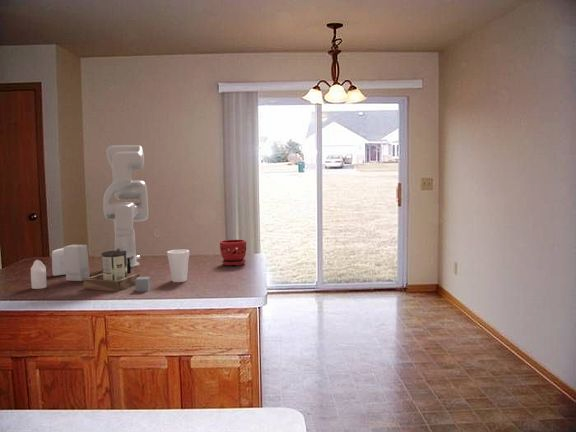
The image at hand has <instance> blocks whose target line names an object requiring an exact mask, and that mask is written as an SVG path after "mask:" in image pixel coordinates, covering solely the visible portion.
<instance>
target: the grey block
mask: <svg viewBox="0 0 576 432" xmlns="http://www.w3.org/2000/svg"><path fill="white" fill-rule="evenodd" d="M135 281H136V285H135V291H136V292H149V291H150V290H151V288H152V283H151V281H152V280H151V276H140V277H138V278H136V279H135Z"/></svg>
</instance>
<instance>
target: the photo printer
mask: <svg viewBox="0 0 576 432" xmlns="http://www.w3.org/2000/svg"><path fill="white" fill-rule="evenodd" d="M51 264H52V265H51V267H52V276H53V277H56V276H57V277H58V276H64V275H65V276H66V269H65V259H64V249H63V248H62V247H61V248H58V249H57V248H56V249H55V250H52V252H51Z"/></svg>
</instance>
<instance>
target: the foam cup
mask: <svg viewBox="0 0 576 432" xmlns="http://www.w3.org/2000/svg"><path fill="white" fill-rule="evenodd" d="M166 253H167V259H168V264H169V270H170V276H171V282H173V283H181V282H183V283H184V282H186V281H187V279H188V273H189V272H188V270H189V259H190V250H189V249H171V250H168V251H166Z"/></svg>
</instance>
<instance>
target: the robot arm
mask: <svg viewBox="0 0 576 432" xmlns="http://www.w3.org/2000/svg"><path fill="white" fill-rule="evenodd" d="M105 154H106V159H107V162H108V164H109V166H110V168H111V171H112V172H111V173H112V182H111V183H110V185H109V186H108V187H107V188H106V190H105V192H104V195H103V198H102V203H103V207H102V208H103V215H104V217H105V219H107V220H109V221H110V220H113V227H114V249H113V251H117V250H118V251H120V252H123V251H126V252H127V253H126V258H127V275H129V274H131V271H132V270H131V268H135V267H138V266H140V262H139V261H137V260H140V259H141V256H140V255H139V254H138V255H137V253H136V249H137V248H136V233H135V232H136V231H135V229H134V222H144V221H147V220H148V219H149V216H150V215H149V197H148V195H149V193H148V187H147V184H146V182H145V181H144V180H139V179H137V180H133V178H132V177H133V176H132V170H142V169H143V168H144V166H145V153H144V149H143V147H142V146H141V145H139V144H138V145H137V144H135V145H134V144H130V145H129V144H128V145H127V144H122V145H121V144H120V145H119V144H118V145H117V144H115V145H109V146H108V147H107V148H106V151H105ZM113 195H114V198H115V199H116V200H119V202H111V201H110V200H111V198H112V197H113ZM132 200H137V201H138V202H130V201H132ZM120 201H121V202H120ZM122 201H123V202H122ZM124 201H128V202H124Z"/></svg>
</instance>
